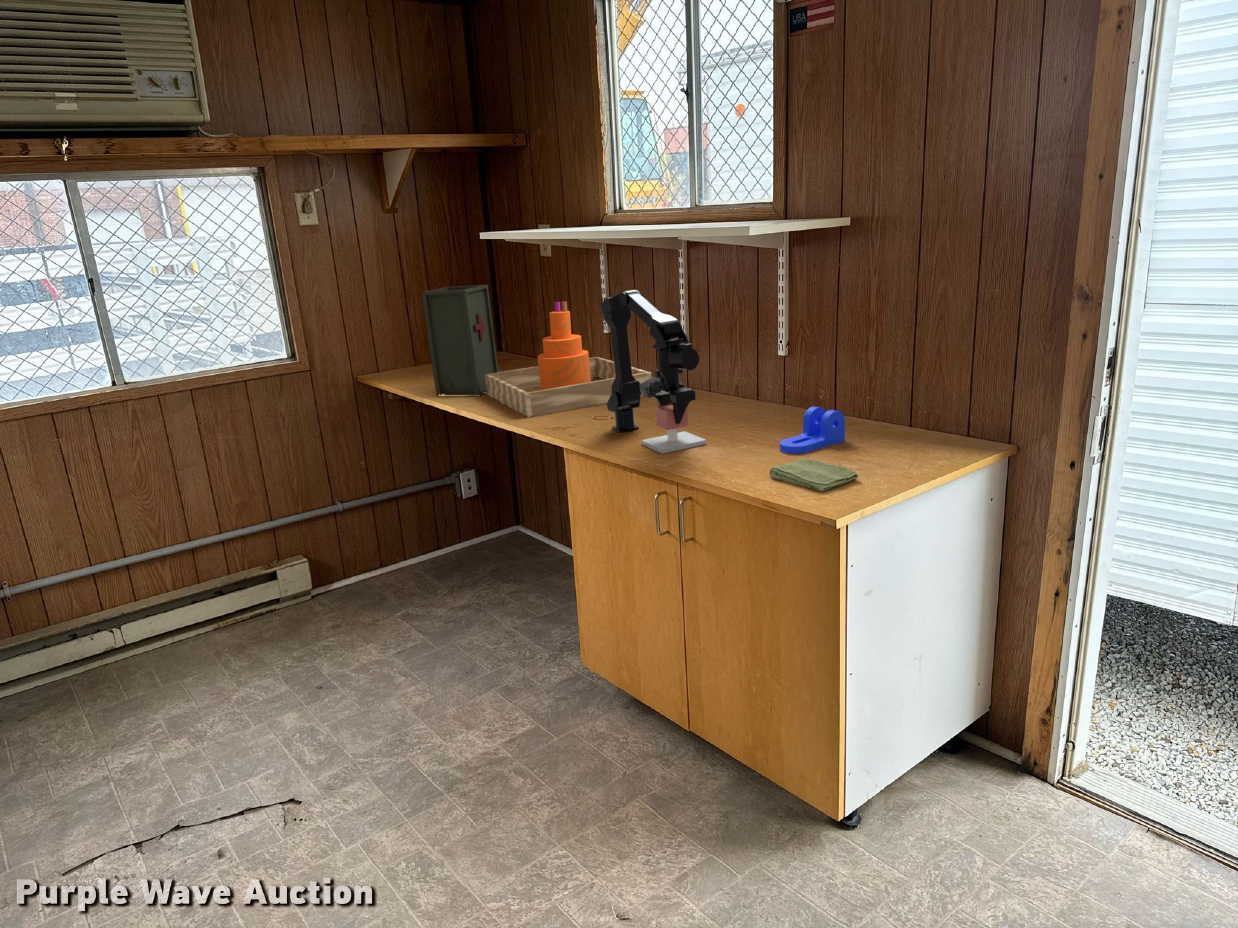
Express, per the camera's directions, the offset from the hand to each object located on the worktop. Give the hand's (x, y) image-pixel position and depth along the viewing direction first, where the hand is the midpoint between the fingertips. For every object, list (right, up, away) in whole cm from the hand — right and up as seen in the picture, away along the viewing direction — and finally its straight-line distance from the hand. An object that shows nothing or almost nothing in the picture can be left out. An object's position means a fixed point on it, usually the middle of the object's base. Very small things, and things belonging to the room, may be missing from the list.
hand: (672, 421), depth 232 cm
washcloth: (+31, -16, -36) cm, 50 cm away
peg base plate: (+1, -6, +2) cm, 7 cm away
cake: (-34, +14, +77) cm, 85 cm away
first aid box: (-74, +17, +99) cm, 125 cm away
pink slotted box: (0, -1, 0) cm, 1 cm away
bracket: (+36, -7, -9) cm, 38 cm away
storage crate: (-34, +14, +77) cm, 85 cm away
